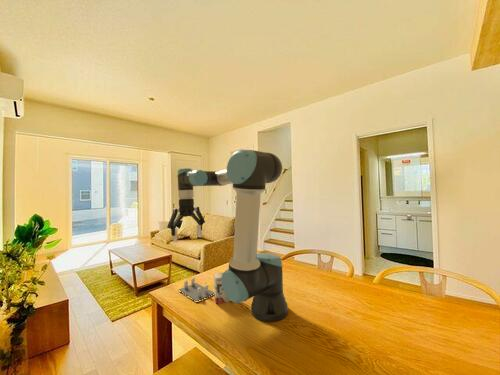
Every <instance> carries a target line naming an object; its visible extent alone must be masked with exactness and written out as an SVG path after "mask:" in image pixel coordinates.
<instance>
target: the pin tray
mask: <svg viewBox="0 0 500 375" xmlns="http://www.w3.org/2000/svg"><path fill="white" fill-rule="evenodd" d="M190 279H191V284H189V283H188V282H189V281H188V279H187V280H186V279H185V280H184V281H183V282H184V284H183V285H184V286H183V287H182V288H179V289H178V291H179V290H180V291H181V292H183V293H184V294H186V295H187V296H189V297H190V298H192V299H193V300H195V301H199V300H202V299H204V298H207V297H209V296H211V295H213V294H214V291H212V290H210V289H209V284H205V285H204V286H202V285H201V284H199V283H197V282H196V281H195V277H191V278H190ZM213 296H214V295H213ZM211 297H212V296H211ZM209 298H210V297H209ZM207 299H208V298H207Z"/></svg>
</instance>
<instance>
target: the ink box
mask: <svg viewBox="0 0 500 375" xmlns="http://www.w3.org/2000/svg"><path fill="white" fill-rule="evenodd" d="M223 273H224V272H219V273H214V274H213V284H214V285H213V289H214V291H213V292H214V295H213V297H214V303H215V304H216V303H220V304H224V303H223V302H226V303H230V302H229V301H231V300H230V299H229V298H228V297H227V295H226V294H225V292H224V290H223V287H222V282H221V277H222V274H223Z"/></svg>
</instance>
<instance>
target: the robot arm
mask: <svg viewBox="0 0 500 375" xmlns="http://www.w3.org/2000/svg"><path fill="white" fill-rule="evenodd" d="M282 173H283V165H282V161H281V160H280V158H279V157H278V156H277V155H276V154H274V153H271V152H267V151H266V152H264V151H260V150H254V149H239V150H236V151H235V152H233V153H232V155H231V156H230V157H229V159H228V161H227V165H226V168H225V169H220V170H217V171H215V170H214V171H212V170H211V171H210V170H209V171H208V170H202V169H194V170H193V169H192V168H189V167H188V168H187V167H186V168H178V170H177V190H178V191H177V192H178V193H177V195H178V208H173V209H172V214H171V216H170V219H169V222H168V224H167V227H166V228H167V229H170V230H171V236H172V237H173V238H172V240H173V242H172V243H178V229H177V227H178V225H179V223H180V222H181V220H182V219H183V218H186V217H191V218H192V219H193V220H194V222H196V236H197V238H202V231H203V225H204V224H205V223H206V221H205V219H204V217H203V214H202V213H201V211H200V210H201V209H200V207H199V206H195V207H194V205H195V201H194V200H195V199H194V198H195V197H194V195H195V194H194V187H215V186H216V187H218V186H219V187H221V186H223V187H224V186H227V185H232V189H233V190H234V191H235V193H236V197H235V198H236V200H235V201H236V202H235V216H234V217H235V219H234V220H235V222H234V237H233V238H234V239H233V255H232V257H231V258H230V259H229V260H228V269H226V270H224V272H222V273H223V274H222V277H221V282H222V287H223V290H224V292H225V294H226V295H227V297H228V298H229V299H230V300H231V301H232V302H233V303H235V304H241V303H244V302H247V301H248V300H249V299H252V302H251V305H250V309H251V310H250V311H251V315H252V316H253V318H255V319H257V320H259V321H262V322H269V323H272V322H278V321H281V320H283V319H284V318H286V317H287V316H288V313H289V306H288V303H287V301H286V298H285V294H284V284H283V280H284V279H283V278H284V277H283V276H284V274H283V260H282V258H281V257H280V255H277V254H274V253H273V254H272V253H265V252H264V253H263V252H262V253H258V244H259V243H258V241H259V239H258V238H259V225H260V211H261V209H260V208H261V197H262V195H261V194H263V192H264V191H265V190H266V184H271V183H274V182H276V181H277V180H278V179H279V178H280V176H281V175H282ZM178 213H179V214H178ZM195 213H196V214H195Z"/></svg>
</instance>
